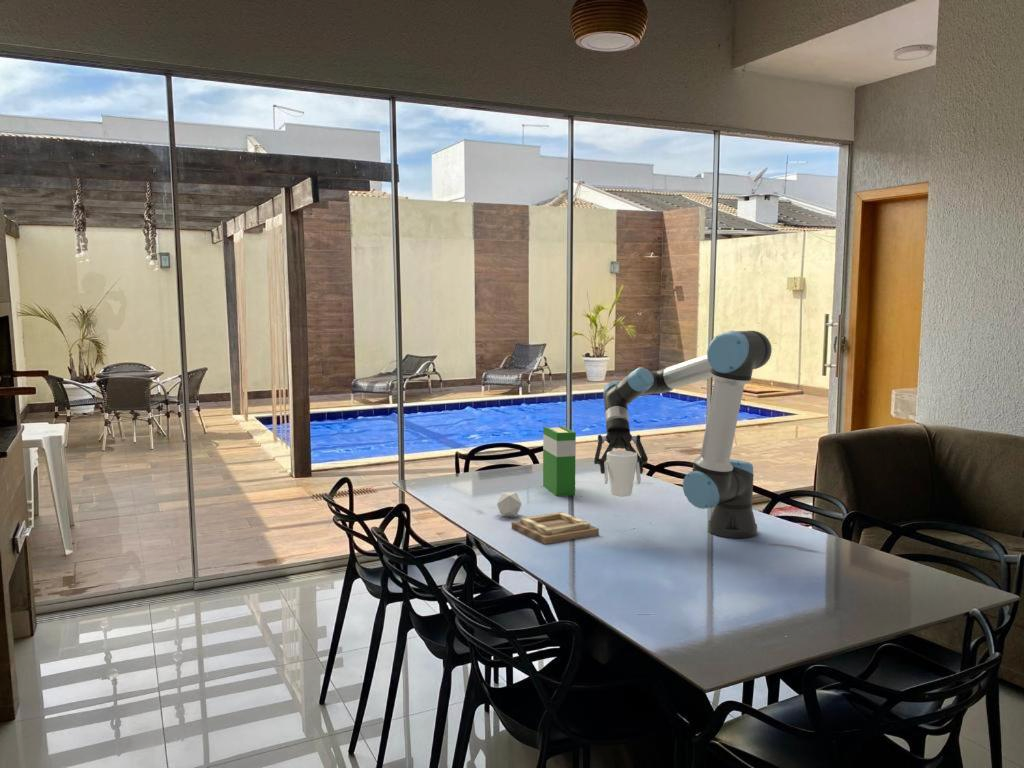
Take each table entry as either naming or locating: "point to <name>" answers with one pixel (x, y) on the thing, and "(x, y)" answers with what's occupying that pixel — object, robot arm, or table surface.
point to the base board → (554, 536)
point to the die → (509, 504)
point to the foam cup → (621, 472)
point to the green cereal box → (559, 460)
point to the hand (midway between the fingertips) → (622, 481)
